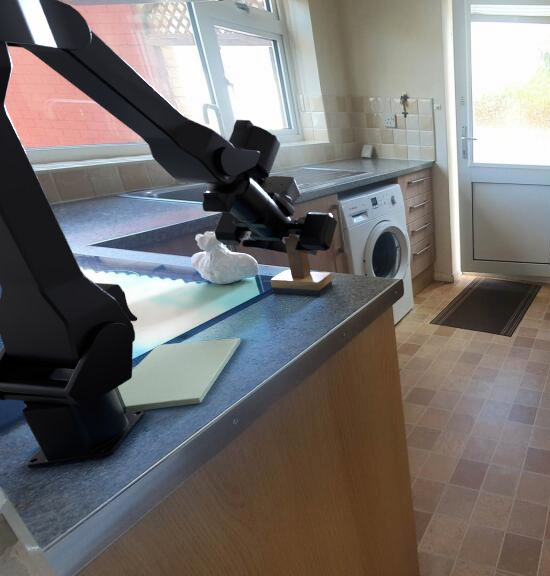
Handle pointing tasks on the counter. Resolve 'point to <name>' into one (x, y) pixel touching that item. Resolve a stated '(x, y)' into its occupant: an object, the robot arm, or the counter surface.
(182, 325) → the counter surface
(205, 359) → the board
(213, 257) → the white curved figure
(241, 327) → the counter surface
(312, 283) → the brush
